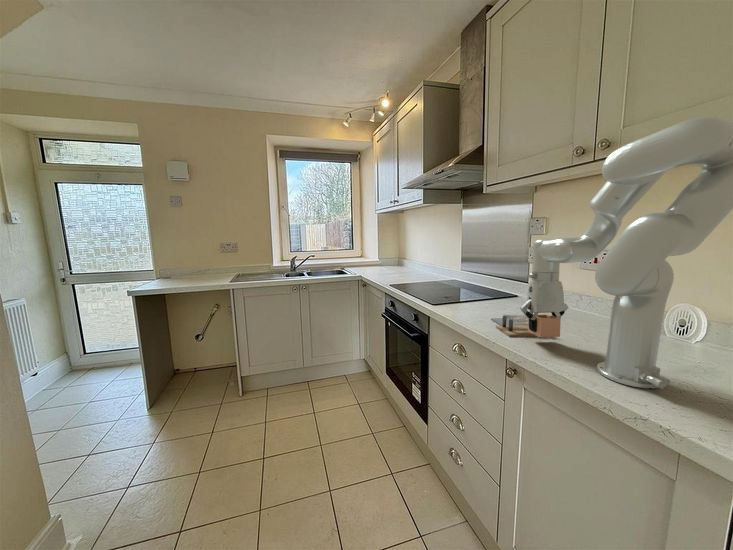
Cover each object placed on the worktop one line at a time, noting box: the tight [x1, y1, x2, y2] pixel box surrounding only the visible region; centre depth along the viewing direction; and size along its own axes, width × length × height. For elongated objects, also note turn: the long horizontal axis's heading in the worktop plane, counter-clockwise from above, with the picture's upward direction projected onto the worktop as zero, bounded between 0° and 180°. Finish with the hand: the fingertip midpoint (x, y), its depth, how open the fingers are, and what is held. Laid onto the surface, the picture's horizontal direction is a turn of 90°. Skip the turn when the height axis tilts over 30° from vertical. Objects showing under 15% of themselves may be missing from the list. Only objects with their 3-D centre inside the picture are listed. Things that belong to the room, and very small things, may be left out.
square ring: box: [527, 313, 562, 339], centre depth 97 cm, size 7×7×6 cm
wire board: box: [495, 325, 537, 338], centre depth 108 cm, size 10×16×1 cm, turn 93°
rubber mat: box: [490, 317, 528, 326], centre depth 119 cm, size 9×11×1 cm
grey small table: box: [502, 314, 528, 331], centre depth 108 cm, size 8×12×5 cm
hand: (543, 330), depth 97 cm, fingers closed on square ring, 6 cm apart
